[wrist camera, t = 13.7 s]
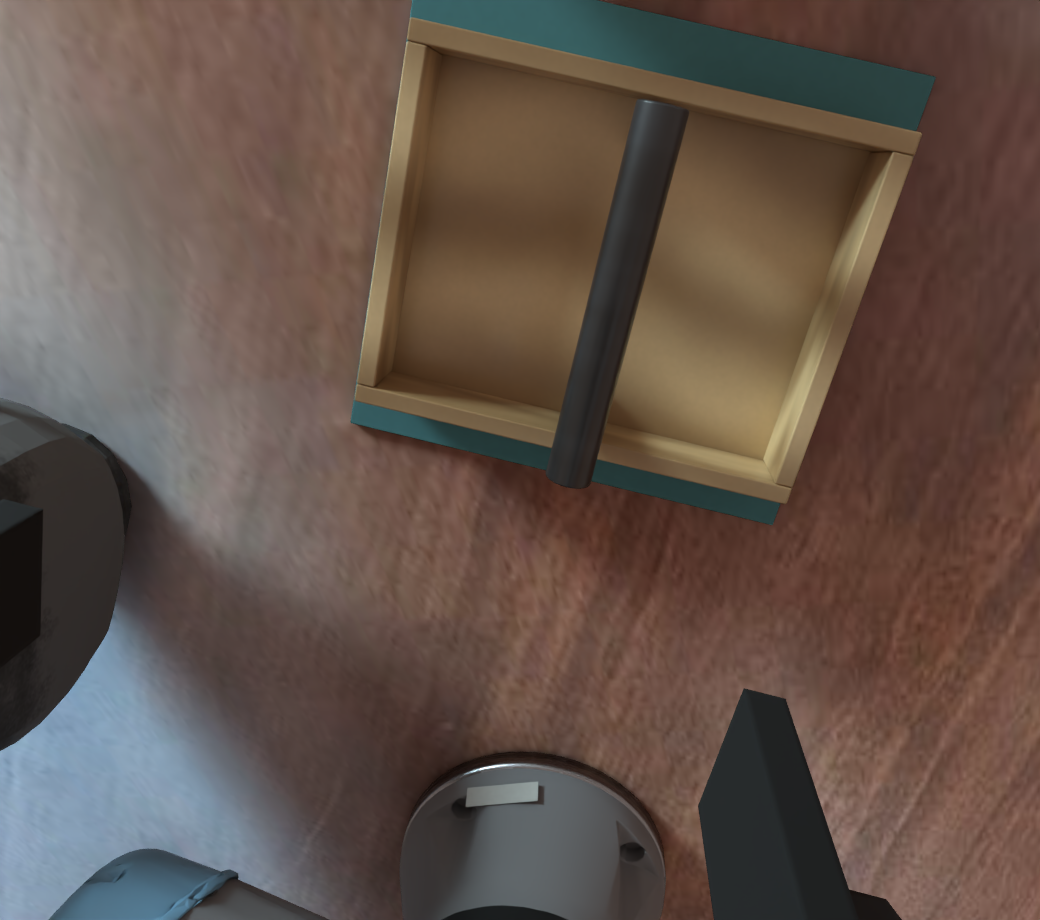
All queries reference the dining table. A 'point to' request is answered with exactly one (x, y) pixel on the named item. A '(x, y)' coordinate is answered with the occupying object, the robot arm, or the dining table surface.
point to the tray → (544, 236)
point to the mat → (684, 54)
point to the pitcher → (61, 556)
